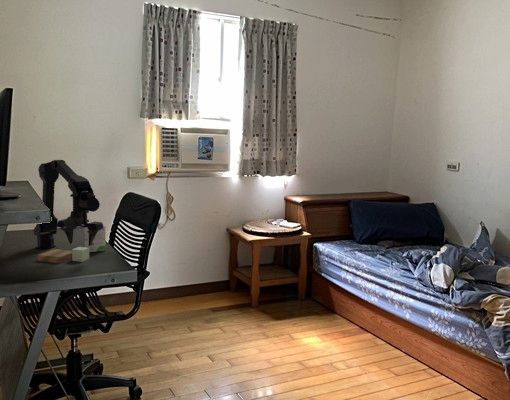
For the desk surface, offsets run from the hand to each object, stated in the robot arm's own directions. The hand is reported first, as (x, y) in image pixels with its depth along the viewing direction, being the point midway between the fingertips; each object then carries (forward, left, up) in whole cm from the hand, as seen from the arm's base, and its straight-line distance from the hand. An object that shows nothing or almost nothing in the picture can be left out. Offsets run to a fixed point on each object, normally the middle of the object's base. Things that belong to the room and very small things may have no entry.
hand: (80, 244), depth 208 cm
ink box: (-3, +16, -7) cm, 18 cm away
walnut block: (-10, -2, -7) cm, 12 cm away
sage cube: (0, 0, -7) cm, 7 cm away
